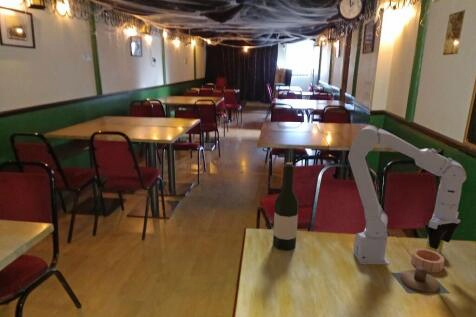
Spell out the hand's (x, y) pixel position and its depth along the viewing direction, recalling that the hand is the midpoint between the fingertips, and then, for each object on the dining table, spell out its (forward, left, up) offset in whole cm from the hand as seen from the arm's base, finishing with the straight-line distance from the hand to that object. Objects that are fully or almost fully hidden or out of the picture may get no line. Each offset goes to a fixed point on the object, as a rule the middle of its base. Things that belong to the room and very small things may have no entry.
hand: (439, 244), depth 104 cm
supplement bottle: (+7, +12, -10) cm, 17 cm away
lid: (-8, -6, -9) cm, 14 cm away
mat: (-8, -6, -10) cm, 14 cm away
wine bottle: (-44, +17, -10) cm, 48 cm away
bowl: (0, +4, -10) cm, 10 cm away
